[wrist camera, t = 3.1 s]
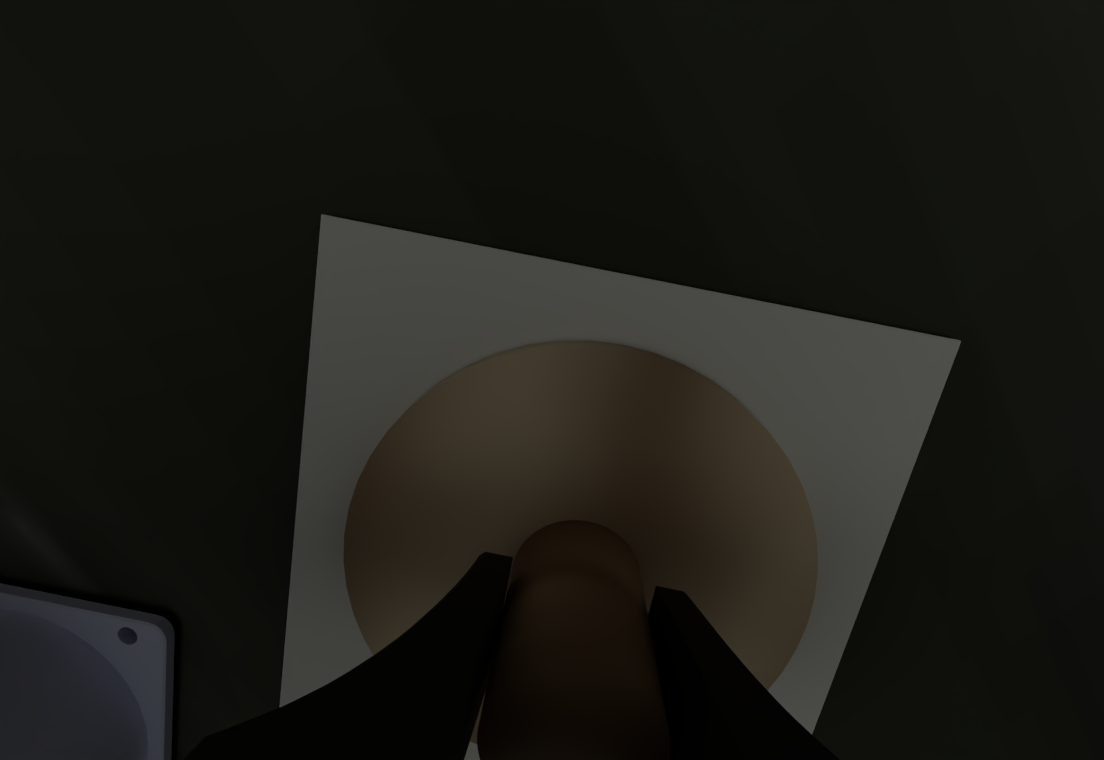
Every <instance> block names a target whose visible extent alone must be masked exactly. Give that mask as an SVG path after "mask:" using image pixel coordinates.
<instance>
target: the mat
mask: <svg viewBox="0 0 1104 760" xmlns="http://www.w3.org/2000/svg"><path fill="white" fill-rule="evenodd" d="M555 341H596V342H604V343H612V344H620V345H626V346H630V347H634V348H637V349H641V350H645V351H649V352H653V353H656V354H659V355H661V356H663V357H666V358H668V359H671V360H673V361H676V362H678V363H681V364H683V365H685V366H687V367H689V368H691V369H692V370H694V371H696V372H698V373H699V374H701V375H703V376H705V377H706V378H708V379H710V380H712V381H713V382H715V383H716V384H717V385H718V386H720V387H721V388H722V389H724V390H725V391H726V392H728V393H729V394H730V395H731V396H733V397H734V398H735V399H737V400H738V401H739V402H740V403H741V404H742V405H743V406H744V407H745V408H746V409H747V410H748V411H749V412H750V413H751V414H752V415H753V416H754V417H755V418H756V419H757V420H758V421H759V422H760V423H761V424H762V425H763V426H764V427H765V428H766V429H767V430H768V431H769V433H770V434H771V435H772V437H773V438H774V439H775V441H776V442H777V443H778V445H779V446H780V448H781V449H782V450H783V452H784V453H785V454H786V456H787V457H788V459H789V461H790V463H791V465H792V466H793V468H794V470H795V472H796V474H797V476H798V478H799V480H800V481H801V483H802V486H803V489H804V492H805V494H806V497H807V500H808V503H809V506H810V509H811V511H812V516H813V522H814V527H815V532H816V537H817V551H818V575H817V583H816V592H815V598H814V602H813V606H812V610H811V613H810V617H809V621H808V624H807V626H806V629H805V631H804V633H803V636H802V638H801V640H800V643H799V645H798V647H797V649H796V651H795V653H794V654H793V656H792V657H791V659H790V661H789V662H788V664H787V666H786V667H785V669H784V671H783V672H782V673H781V675H780V676H779V677H778V678H777V680H776V681H775V682H774V683H773V684H772V686H771V687H770V688H769V689H768V692H769V693H770V694H771V695H772V696H773V697H774V698H775V699H776V700H777V701H778V702H779V703H780V704H781V705H782V706H783V707H784V708H785V709H786V710H787V711H788V712H789V713H790V714H791V715H792V716H793V717H794V718H795V719H796V720H797V721H798V722H799V723H800V724H801V725H802V726H803V727H804V728H805V729H806V730H807V731H808V732H810V733H811V734H812V733H813V730H814V728H815V725H816V723H817V720H818V717H819V715H820V712H821V709H822V707H823V704H824V701H825V699H826V696H827V694H828V691H829V688H830V686H831V683H832V680H833V678H834V675H835V672H836V670H837V667H838V665H839V662H840V659H841V657H842V654H843V651H844V649H845V646H846V643H847V641H848V638H849V636H850V633H851V630H852V628H853V625H854V622H855V620H856V617H857V614H858V612H859V609H860V607H861V604H862V601H863V599H864V596H865V593H866V591H867V588H868V585H869V583H870V580H871V578H872V575H873V572H874V570H875V567H876V564H877V562H878V559H879V556H880V554H881V551H882V549H883V546H884V543H885V541H886V538H887V535H888V533H889V530H890V527H891V525H892V522H893V520H894V517H895V514H896V512H897V509H898V506H899V504H900V501H901V498H902V496H903V493H904V491H905V488H906V485H907V483H908V480H909V477H910V475H911V472H912V469H913V467H914V464H915V462H916V459H917V456H918V454H919V451H920V448H921V446H922V443H923V440H924V438H925V435H926V433H927V430H928V427H929V425H930V422H931V419H932V417H933V414H934V411H935V409H936V406H937V404H938V401H939V398H940V396H941V393H942V390H943V388H944V385H945V382H946V380H947V377H948V375H949V372H950V369H951V367H952V364H953V361H954V359H955V356H956V353H957V351H958V348H959V346H960V343H961V341H960V340H955V339H951V338H946V337H941V336H936V335H931V334H926V333H921V332H916V331H911V330H906V329H901V328H896V327H891V326H885V325H880V324H875V323H870V322H865V321H860V320H855V319H850V318H845V317H840V316H835V315H830V314H825V313H820V312H815V311H810V310H805V309H800V308H794V307H789V306H784V305H779V304H774V303H769V302H764V301H759V300H754V299H749V298H744V297H739V296H734V295H729V294H724V293H719V292H714V291H709V290H703V289H698V288H693V287H688V286H683V285H678V284H673V283H668V282H663V281H658V280H653V279H648V278H643V277H638V276H633V275H628V274H623V273H618V272H612V271H607V270H602V269H597V268H592V267H587V266H582V265H577V264H572V263H567V262H562V261H557V260H552V259H547V258H542V257H537V256H532V255H527V254H521V253H516V252H511V251H506V250H501V249H496V248H491V247H486V246H481V245H476V244H471V243H466V242H461V241H456V240H451V239H446V238H441V237H436V236H430V235H425V234H420V233H415V232H410V231H405V230H400V229H395V228H390V227H385V226H380V225H375V224H370V223H365V222H360V221H355V220H350V219H345V218H339V217H334V216H329V215H323V214H321V225H320V236H319V248H318V260H317V272H316V284H315V295H314V307H313V319H312V331H311V342H310V354H309V366H308V378H307V390H306V401H305V413H304V425H303V437H302V448H301V460H300V472H299V484H298V495H297V507H296V519H295V531H294V543H293V554H292V566H291V578H290V590H289V601H288V613H287V625H286V637H285V649H284V660H283V672H282V684H281V696H280V707H282V706H284V705H286V704H288V703H291V702H293V701H295V700H297V699H299V698H301V697H303V696H305V695H307V694H309V693H311V692H313V691H315V690H317V689H319V688H321V687H322V686H324V685H326V684H328V683H330V682H332V681H333V680H335V679H337V678H339V677H340V676H342V675H344V674H345V673H347V672H349V671H350V670H352V669H353V668H355V667H356V666H358V665H359V664H361V663H363V662H364V661H366V660H367V659H369V658H370V657H372V656H373V654H372V652H371V650H370V649H369V647H368V645H367V644H366V642H365V640H364V638H363V636H362V633H361V631H360V629H359V626H358V624H357V621H356V619H355V617H354V614H353V611H352V607H351V603H350V599H349V595H348V592H347V588H346V579H345V571H344V562H343V557H344V532H345V526H346V521H347V515H348V509H349V505H350V502H351V499H352V496H353V493H354V490H355V487H356V484H357V481H358V479H359V477H360V475H361V473H362V471H363V469H364V467H365V465H366V463H367V461H368V459H369V457H370V455H371V453H372V452H373V451H374V449H375V448H376V446H377V445H378V444H379V442H380V441H381V439H382V438H383V436H384V435H385V434H386V432H387V431H388V430H389V429H390V428H391V426H392V425H393V424H394V423H395V422H396V421H397V420H398V419H399V418H400V417H401V416H402V415H403V414H404V413H405V412H406V411H407V410H408V409H409V408H410V407H411V406H412V405H413V404H414V403H415V402H416V401H417V400H418V399H419V398H421V397H422V396H423V395H424V394H426V393H427V392H428V391H429V390H431V389H432V388H433V387H434V386H436V385H437V384H438V383H440V382H441V381H442V380H444V379H446V378H447V377H449V376H451V375H452V374H454V373H456V372H458V371H459V370H461V369H463V368H464V367H466V366H468V365H470V364H473V363H475V362H477V361H480V360H482V359H485V358H487V357H489V356H492V355H494V354H497V353H500V352H504V351H508V350H511V349H515V348H519V347H522V346H526V345H533V344H540V343H548V342H555ZM280 707H279V708H280ZM464 760H480V758H479V753H478V749H477V744H475V743H473V742H471V741H470V743H469V746H468V749H467V752H466V755H465V758H464Z"/></svg>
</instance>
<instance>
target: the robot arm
mask: <svg viewBox="0 0 1104 760" xmlns="http://www.w3.org/2000/svg"><path fill="white" fill-rule="evenodd" d="M512 561H513V557H510V556H505V555H500V554H495V553H490V552H484V553H482V554H481V555H479V556H478V558H477V560H476V561H475V562H474V564H473V565H472V566H471V568H470V569H469V570H468V571H467V572H466V574H465V575H464V576H463V577H462V578H461V579H460V581H459V582H458V583H457V584H456V585H455V586H454V587H453V588H452V589H451V590H450V591H449V592H448V593H447V594H446V595H445V596H444V597H443V598H442V599H441V600H440V601H439V602H438V603H437V604H436V605H435V606H434V607H433V608H432V609H431V610H430V611H429V612H427V613H426V614H425V615H424V616H423V617H422V618H421V619H420V620H418V621H417V622H416V623H415V624H414V625H413V626H412V627H410V628H409V629H408V630H407V631H406V632H404V633H403V634H402V635H401V636H399V637H398V638H397V639H395V640H394V641H393V642H391V643H390V644H389V645H387V646H386V647H385V648H383V649H382V650H380V651H379V652H378V653H376V654H375V655H373V656H372V657H370V658H369V659H367V660H366V661H364V662H363V663H361V664H359V665H358V666H356V667H355V668H353V669H352V670H350V671H349V672H347V673H345V674H344V675H342V676H340V677H339V678H337V679H335V680H333V681H332V682H330V683H328V684H326V685H324V686H322V687H321V688H319V689H317V690H315V691H313V692H311V693H309V694H307V695H305V696H303V697H301V698H299V699H297V700H295V701H293V702H291V703H288V704H286V705H284V706H282V707H280V708H277V709H275V710H273V711H271V712H268V713H266V714H263V715H261V716H258V717H256V718H253V719H251V720H248V721H246V722H243V723H240V724H238V725H235V726H233V727H230V728H228V729H225V730H223V731H220V732H217V733H214V734H212V735H209V736H206V737H205V738H203V740H202V741H201V742H200V743H199V744H198V745H197V746H196V747H195V748H194V749H193V750H192V751H191V752H190V753H189V754H188V755H187V757H186V758H185V759H184V760H464V758H465V755H466V752H467V749H468V746H469V743H470V739H471V736H472V733H473V730H474V727H475V723H476V720H477V717H478V714H479V711H480V708H481V704H482V701H483V698H484V695H485V691H486V688H487V683H488V678H489V674H490V669H491V664H492V660H493V655H494V650H495V645H496V641H497V636H498V631H499V627H500V622H501V617H502V612H503V607H504V602H505V597H506V591H507V586H508V581H509V576H510V571H511V566H512ZM648 619H649V624H650V630H651V635H652V641H653V646H654V652H655V657H656V663H657V668H658V674H659V679H660V684H661V690H662V695H663V701H664V706H665V712H666V717H667V723H668V728H669V734H670V742H671V752H670V759H669V760H839V759H838V758H837V757H836V756H835V755H834V754H833V753H831V752H830V751H829V750H828V749H827V748H826V747H825V746H823V745H822V744H821V743H820V742H819V741H818V740H817V739H816V738H815V737H814V736H813V735H812V734H811V733H810V732H808V731H807V730H806V729H805V728H804V727H803V726H802V725H801V724H800V723H799V722H798V721H797V720H796V719H795V718H794V717H793V716H792V715H791V714H790V713H789V712H788V711H787V710H786V709H785V708H784V707H783V706H782V705H781V704H780V703H779V702H778V701H777V700H776V699H775V698H774V697H773V696H772V695H771V694H770V693H769V692H768V690H767V689H766V688H765V687H764V686H763V685H762V684H761V683H760V682H759V681H758V680H757V679H756V678H755V676H754V675H753V674H752V673H751V672H750V671H749V670H748V668H747V667H746V666H745V665H744V664H743V663H742V662H741V660H740V659H739V658H738V657H737V656H736V654H735V653H734V652H733V651H732V650H731V648H730V647H729V646H728V645H727V644H726V642H725V641H724V640H723V639H722V637H721V636H720V635H719V634H718V633H717V631H716V630H715V629H714V628H713V626H712V625H711V624H710V623H709V621H708V620H707V619H706V618H705V616H704V615H703V614H702V612H701V611H700V610H699V609H698V607H697V606H696V605H695V604H694V602H693V601H692V600H691V599H690V598H689V596H688V595H687V594H686V593H685V592H684V591H679V590H674V589H669V588H664V587H659V586H656V587H655V591H654V595H653V598H652V602H651V606H650V609H649V613H648ZM132 629H133V630H134V631H135V632H134V631H133V630H132ZM174 642H175V633H174V628H173V626H172V625H171V623H170V622H169V621H168V620H167V619H166V618H164V617H162V616H159V615H155V614H150V613H145V612H141V611H136V610H131V609H126V608H121V607H116V606H111V605H106V604H101V603H96V602H91V601H86V600H81V599H76V598H71V597H66V596H61V595H56V594H51V593H46V592H41V591H36V590H31V589H26V588H21V587H16V586H11V585H6V584H2V583H0V760H171V753H172V716H173V679H174Z"/></svg>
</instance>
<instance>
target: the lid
mask: <svg viewBox="0 0 1104 760" xmlns="http://www.w3.org/2000/svg"><path fill="white" fill-rule="evenodd" d="M484 552H490V553H495V554H500V555H505V556H510V557H513V561H512V566H511V571H510V576H509V581H508V586H507V591H506V597H505V602H504V607H503V612H502V617H501V622H500V627H499V631H498V636H497V641H496V645H495V650H494V655H493V660H492V664H491V669H490V674H489V678H488V683H487V688H486V691H485V695H484V698H483V701H482V704H481V708H480V711H479V714H478V717H477V720H476V723H475V727H474V730H473V733H472V736H471V739H470V741H471V742H473V743H475V744H477V749H478V753H479V758H480V760H669V759H670V752H671V742H670V734H669V728H668V723H667V717H666V712H665V706H664V701H663V695H662V690H661V684H660V679H659V674H658V668H657V663H656V657H655V652H654V646H653V641H652V635H651V630H650V624H649V619H648V613H649V609H650V606H651V602H652V598H653V595H654V591H655V587H656V586H659V587H664V588H669V589H674V590H679V591H684V592H685V593H686V594H687V595H688V596H689V598H690V599H691V600H692V601H693V602H694V604H695V605H696V606H697V607H698V609H699V610H700V611H701V612H702V614H703V615H704V616H705V618H706V619H707V620H708V621H709V623H710V624H711V625H712V626H713V628H714V629H715V630H716V631H717V633H718V634H719V635H720V636H721V637H722V639H723V640H724V641H725V642H726V644H727V645H728V646H729V647H730V648H731V650H732V651H733V652H734V653H735V654H736V656H737V657H738V658H739V659H740V660H741V662H742V663H743V664H744V665H745V666H746V667H747V668H748V670H749V671H750V672H751V673H752V674H753V675H754V676H755V678H756V679H757V680H758V681H759V682H760V683H761V684H762V685H763V686H764V687H765V688H766V689H767V690H768V689H769V688H770V687H771V686H772V684H773V683H774V682H775V681H776V680H777V678H778V677H779V676H780V675H781V673H782V672H783V671H784V669H785V667H786V666H787V664H788V662H789V661H790V659H791V657H792V656H793V654H794V653H795V651H796V649H797V647H798V645H799V643H800V640H801V638H802V636H803V633H804V631H805V629H806V626H807V624H808V621H809V617H810V613H811V610H812V606H813V602H814V598H815V592H816V583H817V575H818V551H817V537H816V532H815V527H814V522H813V516H812V511H811V509H810V506H809V503H808V500H807V497H806V494H805V492H804V489H803V486H802V483H801V481H800V480H799V478H798V476H797V474H796V472H795V470H794V468H793V466H792V465H791V463H790V461H789V459H788V457H787V456H786V454H785V453H784V452H783V450H782V449H781V448H780V446H779V445H778V443H777V442H776V441H775V439H774V438H773V437H772V435H771V434H770V433H769V431H768V430H767V429H766V428H765V427H764V426H763V425H762V424H761V423H760V422H759V421H758V420H757V419H756V418H755V417H754V416H753V415H752V414H751V413H750V412H749V411H748V410H747V409H746V408H745V407H744V406H743V405H742V404H741V403H740V402H739V401H738V400H737V399H735V398H734V397H733V396H731V395H730V394H729V393H728V392H726V391H725V390H724V389H722V388H721V387H720V386H718V385H717V384H716V383H715V382H713V381H712V380H710V379H708V378H706V377H705V376H703V375H701V374H699V373H698V372H696V371H694V370H692V369H691V368H689V367H687V366H685V365H683V364H681V363H678V362H676V361H673V360H671V359H668V358H666V357H663V356H661V355H659V354H656V353H653V352H649V351H645V350H641V349H637V348H634V347H630V346H626V345H620V344H612V343H604V342H596V341H555V342H548V343H540V344H533V345H526V346H522V347H519V348H515V349H511V350H508V351H504V352H500V353H497V354H494V355H492V356H489V357H487V358H485V359H482V360H480V361H477V362H475V363H473V364H470V365H468V366H466V367H464V368H463V369H461V370H459V371H458V372H456V373H454V374H452V375H451V376H449V377H447V378H446V379H444V380H442V381H441V382H440V383H438V384H437V385H436V386H434V387H433V388H432V389H431V390H429V391H428V392H427V393H426V394H424V395H423V396H422V397H421V398H419V399H418V400H417V401H416V402H415V403H414V404H413V405H412V406H411V407H410V408H409V409H408V410H407V411H406V412H405V413H404V414H403V415H402V416H401V417H400V418H399V419H398V420H397V421H396V422H395V423H394V424H393V425H392V426H391V428H390V429H389V430H388V431H387V432H386V434H385V435H384V436H383V438H382V439H381V441H380V442H379V444H378V445H377V446H376V448H375V449H374V451H373V452H372V453H371V455H370V457H369V459H368V461H367V463H366V465H365V467H364V469H363V471H362V473H361V475H360V477H359V479H358V481H357V484H356V487H355V490H354V493H353V496H352V499H351V502H350V505H349V509H348V515H347V521H346V526H345V532H344V557H343V562H344V571H345V579H346V588H347V592H348V595H349V599H350V603H351V607H352V611H353V614H354V617H355V619H356V621H357V624H358V626H359V629H360V631H361V633H362V636H363V638H364V640H365V642H366V644H367V645H368V647H369V649H370V650H371V652H372V654H373V655H375V654H376V653H378V652H379V651H380V650H382V649H383V648H385V647H386V646H387V645H389V644H390V643H391V642H393V641H394V640H395V639H397V638H398V637H399V636H401V635H402V634H403V633H404V632H406V631H407V630H408V629H409V628H410V627H412V626H413V625H414V624H415V623H416V622H417V621H418V620H420V619H421V618H422V617H423V616H424V615H425V614H426V613H427V612H429V611H430V610H431V609H432V608H433V607H434V606H435V605H436V604H437V603H438V602H439V601H440V600H441V599H442V598H443V597H444V596H445V595H446V594H447V593H448V592H449V591H450V590H451V589H452V588H453V587H454V586H455V585H456V584H457V583H458V582H459V581H460V579H461V578H462V577H463V576H464V575H465V574H466V572H467V571H468V570H469V569H470V568H471V566H472V565H473V564H474V562H475V561H476V560H477V558H478V556H479V555H481V554H482V553H484Z"/></svg>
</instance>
